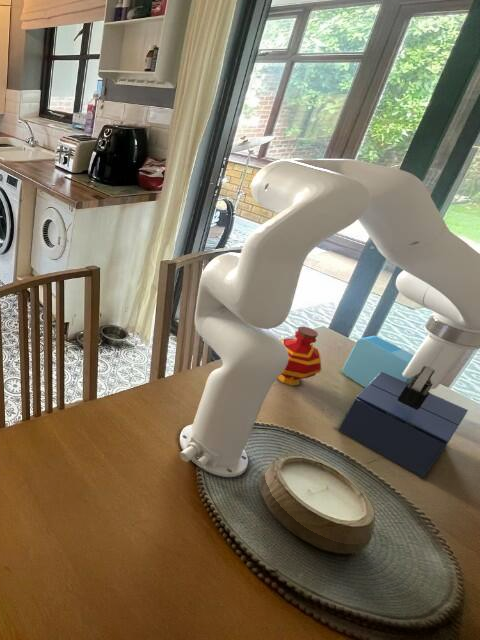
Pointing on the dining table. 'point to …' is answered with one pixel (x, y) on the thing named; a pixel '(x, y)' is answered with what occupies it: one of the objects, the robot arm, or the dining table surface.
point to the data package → (376, 360)
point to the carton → (399, 428)
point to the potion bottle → (301, 357)
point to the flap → (408, 413)
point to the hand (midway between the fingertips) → (408, 403)
